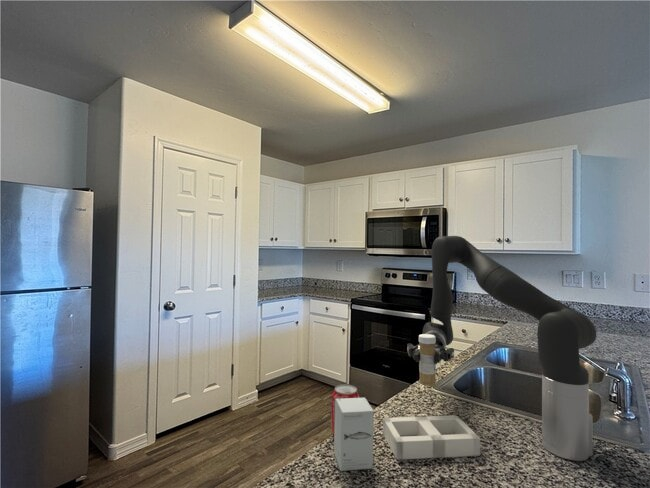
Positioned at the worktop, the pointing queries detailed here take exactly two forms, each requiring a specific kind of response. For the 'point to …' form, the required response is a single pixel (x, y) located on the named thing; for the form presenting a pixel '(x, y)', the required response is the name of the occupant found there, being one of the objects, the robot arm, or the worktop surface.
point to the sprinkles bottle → (427, 359)
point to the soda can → (341, 393)
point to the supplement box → (353, 434)
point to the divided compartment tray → (430, 437)
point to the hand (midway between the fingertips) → (426, 359)
